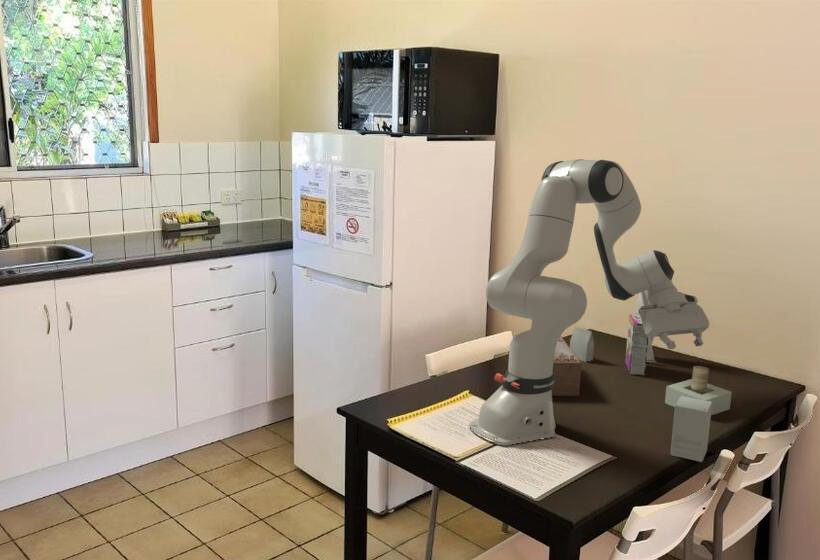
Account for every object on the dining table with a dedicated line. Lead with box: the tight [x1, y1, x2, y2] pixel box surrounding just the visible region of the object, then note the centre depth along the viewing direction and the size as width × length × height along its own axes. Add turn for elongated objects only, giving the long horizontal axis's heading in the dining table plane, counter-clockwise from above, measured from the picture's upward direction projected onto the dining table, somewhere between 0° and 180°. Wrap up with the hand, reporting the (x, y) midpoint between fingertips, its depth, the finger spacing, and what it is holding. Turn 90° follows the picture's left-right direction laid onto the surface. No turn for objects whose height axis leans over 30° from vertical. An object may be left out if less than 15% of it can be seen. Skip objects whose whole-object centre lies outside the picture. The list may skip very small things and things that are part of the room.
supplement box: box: [670, 396, 712, 463], centre depth 173 cm, size 7×7×13 cm
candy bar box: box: [624, 313, 648, 376], centre depth 229 cm, size 11×5×16 cm, turn 171°
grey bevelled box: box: [569, 326, 595, 363], centre depth 239 cm, size 4×7×10 cm, turn 38°
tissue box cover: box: [514, 334, 582, 397], centre depth 219 cm, size 26×14×10 cm, turn 2°
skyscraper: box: [635, 291, 657, 363], centre depth 239 cm, size 8×8×28 cm
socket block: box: [664, 378, 733, 416], centre depth 202 cm, size 12×12×5 cm
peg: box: [691, 365, 710, 395], centre depth 201 cm, size 4×4×11 cm
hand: (686, 346), depth 205 cm, fingers open, 8 cm apart
